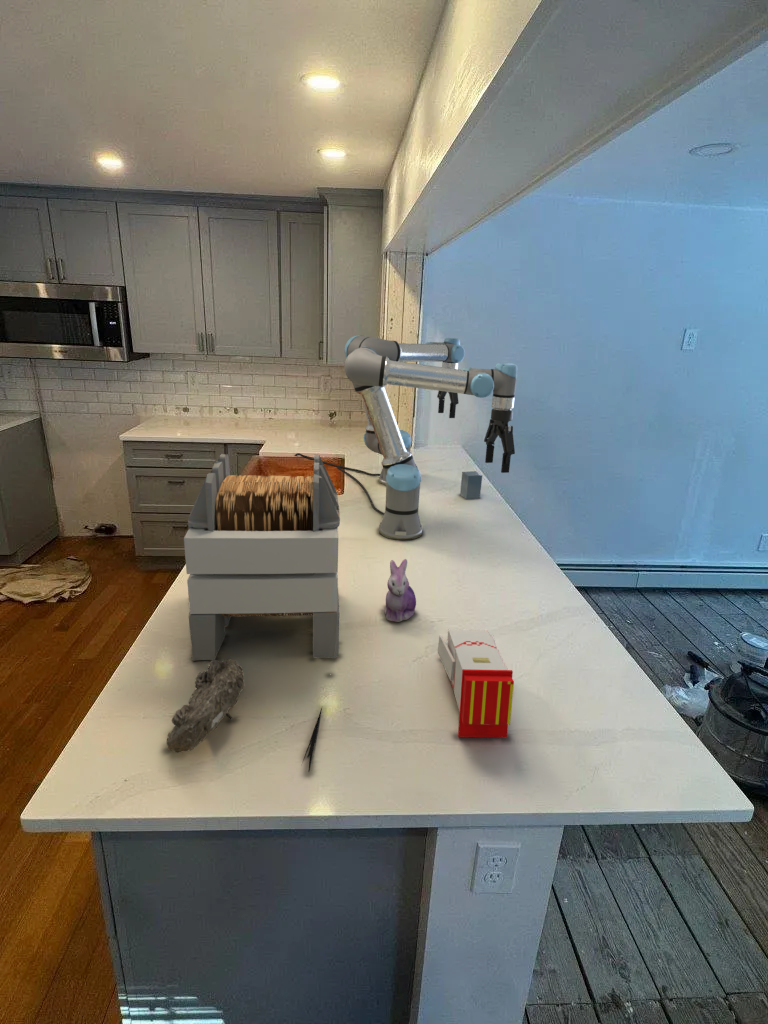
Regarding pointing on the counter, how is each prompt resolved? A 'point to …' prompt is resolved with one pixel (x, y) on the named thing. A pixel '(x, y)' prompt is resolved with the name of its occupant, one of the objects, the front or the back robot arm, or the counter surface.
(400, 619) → the figurine
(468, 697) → the toy
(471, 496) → the brick
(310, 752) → the feather
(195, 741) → the fossil
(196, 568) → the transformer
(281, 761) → the counter surface
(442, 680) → the counter surface
